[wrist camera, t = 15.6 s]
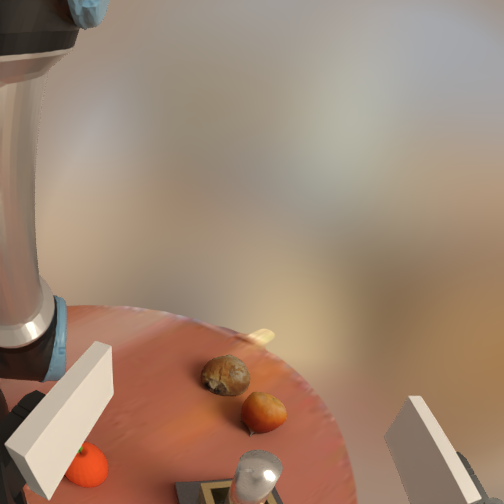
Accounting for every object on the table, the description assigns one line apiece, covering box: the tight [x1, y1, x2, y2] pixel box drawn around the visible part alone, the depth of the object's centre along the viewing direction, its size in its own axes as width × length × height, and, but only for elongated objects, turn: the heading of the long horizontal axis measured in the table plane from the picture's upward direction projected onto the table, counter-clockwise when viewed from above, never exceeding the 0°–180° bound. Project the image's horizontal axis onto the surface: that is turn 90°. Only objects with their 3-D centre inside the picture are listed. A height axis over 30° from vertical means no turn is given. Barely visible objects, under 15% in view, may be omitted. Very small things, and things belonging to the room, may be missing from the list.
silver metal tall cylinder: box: [223, 450, 283, 504], centre depth 26 cm, size 5×5×14 cm
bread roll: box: [201, 355, 250, 396], centre depth 59 cm, size 10×10×8 cm
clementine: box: [65, 441, 108, 488], centre depth 28 cm, size 8×7×7 cm
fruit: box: [241, 392, 287, 437], centre depth 48 cm, size 8×8×8 cm
